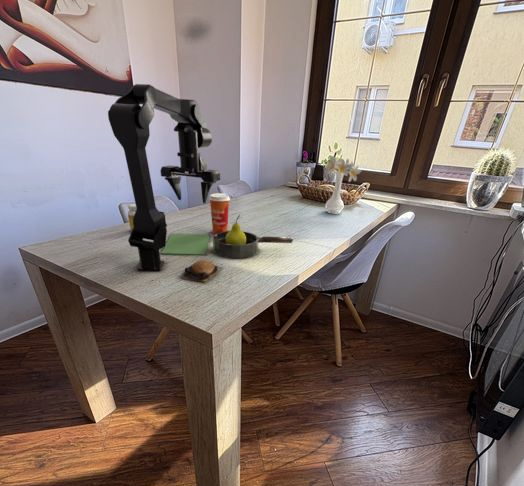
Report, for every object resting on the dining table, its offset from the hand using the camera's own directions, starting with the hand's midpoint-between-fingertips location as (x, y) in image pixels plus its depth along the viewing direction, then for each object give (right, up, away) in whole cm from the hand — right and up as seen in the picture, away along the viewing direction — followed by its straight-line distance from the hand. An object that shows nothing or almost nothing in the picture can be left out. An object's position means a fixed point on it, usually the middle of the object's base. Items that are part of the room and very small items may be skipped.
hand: (192, 201), depth 104 cm
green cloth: (-3, -13, +5) cm, 14 cm away
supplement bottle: (-24, -6, +14) cm, 28 cm away
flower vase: (+61, +15, +55) cm, 83 cm away
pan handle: (+28, -13, +2) cm, 31 cm away
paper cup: (+7, -6, +18) cm, 20 cm away
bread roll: (+6, -26, -14) cm, 31 cm away
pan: (+15, -16, +2) cm, 22 cm away
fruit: (+15, -16, +2) cm, 22 cm away
